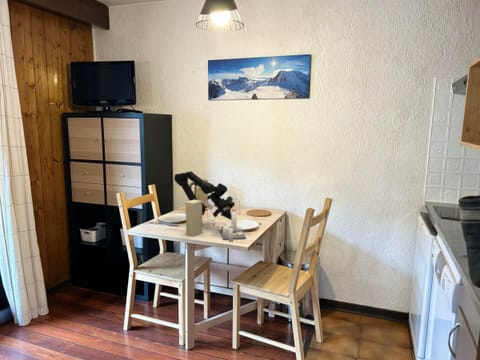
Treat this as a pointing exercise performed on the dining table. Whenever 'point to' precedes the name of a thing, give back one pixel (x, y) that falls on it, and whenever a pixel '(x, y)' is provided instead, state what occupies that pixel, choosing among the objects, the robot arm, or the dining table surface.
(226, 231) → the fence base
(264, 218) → the dining table surface
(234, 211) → the fence post
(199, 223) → the toy refrigerator
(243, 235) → the board
